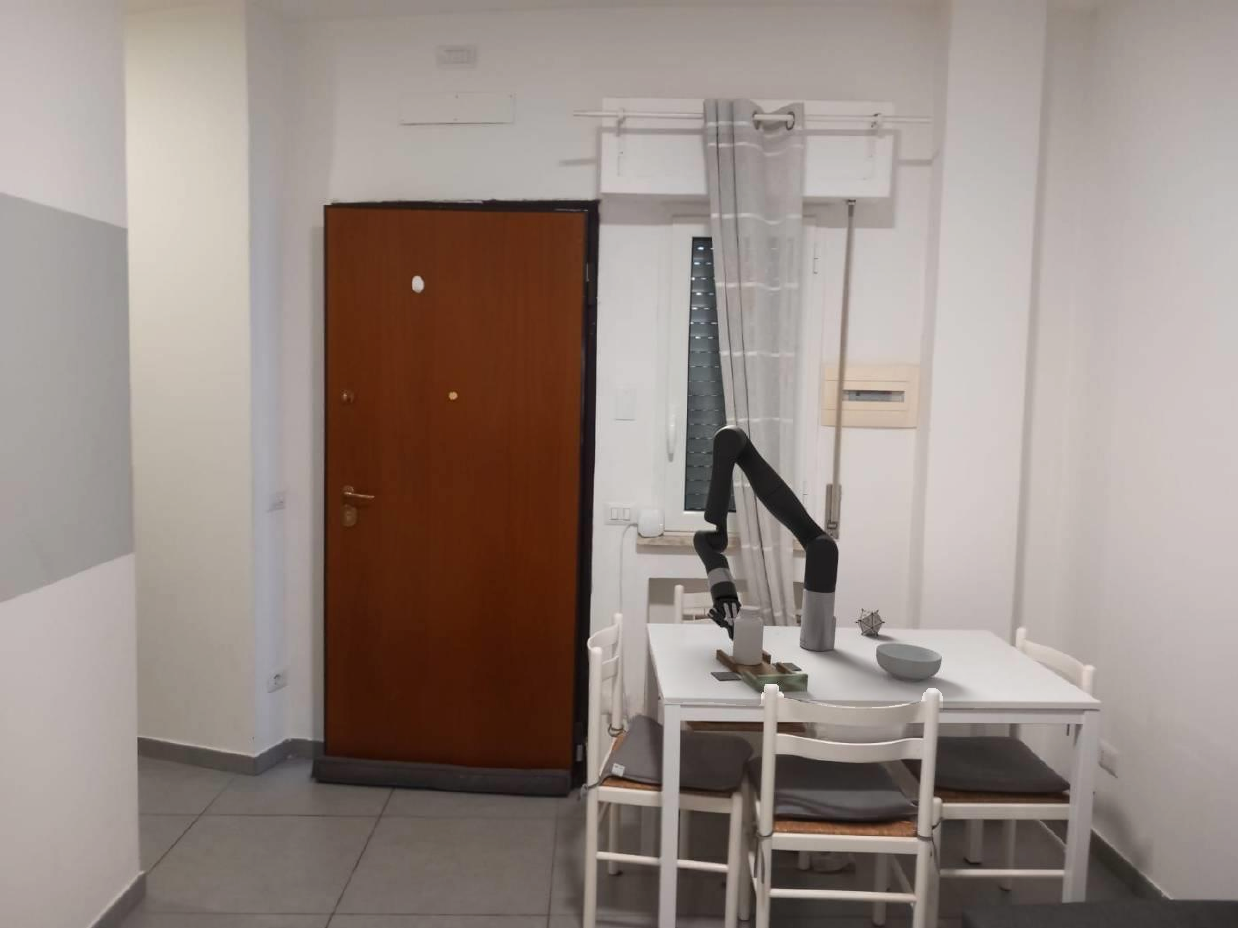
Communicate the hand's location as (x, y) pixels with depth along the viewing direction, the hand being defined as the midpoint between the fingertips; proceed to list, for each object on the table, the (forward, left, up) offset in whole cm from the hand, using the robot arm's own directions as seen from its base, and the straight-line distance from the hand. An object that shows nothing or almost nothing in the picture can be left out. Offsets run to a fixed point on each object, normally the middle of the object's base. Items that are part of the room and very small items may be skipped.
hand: (735, 639), depth 247 cm
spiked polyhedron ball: (-53, -18, -5) cm, 56 cm away
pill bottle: (0, +8, -4) cm, 9 cm away
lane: (0, +16, -4) cm, 17 cm away
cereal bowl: (-40, +23, -5) cm, 47 cm away
